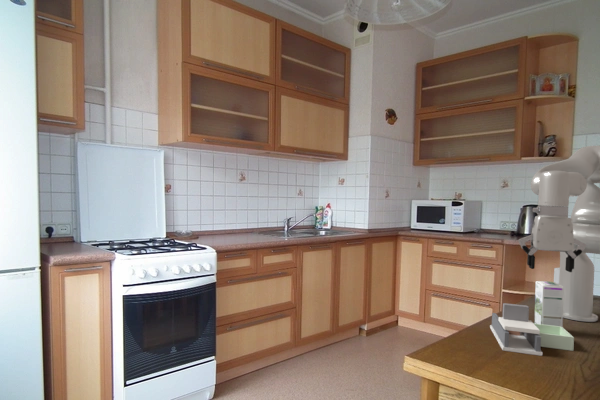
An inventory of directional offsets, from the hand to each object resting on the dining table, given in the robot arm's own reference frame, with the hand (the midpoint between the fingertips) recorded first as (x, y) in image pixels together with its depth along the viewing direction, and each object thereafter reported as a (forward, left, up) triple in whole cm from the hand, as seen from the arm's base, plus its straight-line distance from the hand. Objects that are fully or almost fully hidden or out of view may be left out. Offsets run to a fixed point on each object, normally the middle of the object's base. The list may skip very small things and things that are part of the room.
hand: (549, 269), depth 113 cm
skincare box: (-48, +19, -19) cm, 55 cm away
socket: (+10, -2, -19) cm, 21 cm away
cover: (+16, -11, -14) cm, 24 cm away
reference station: (+12, -11, -19) cm, 25 cm away
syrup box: (0, 0, -19) cm, 19 cm away
